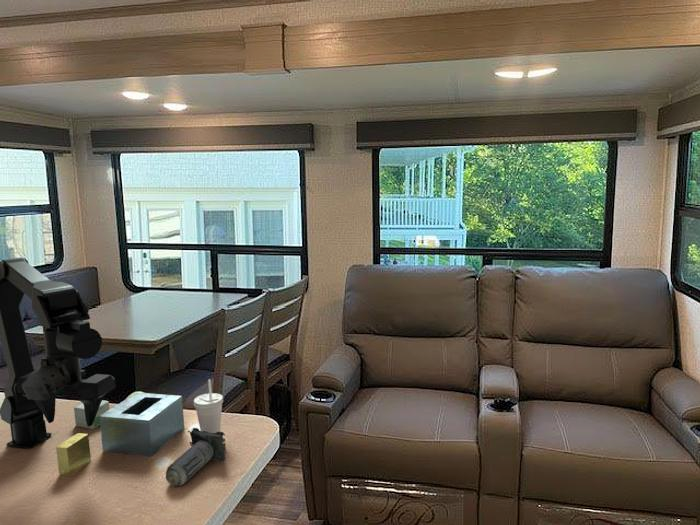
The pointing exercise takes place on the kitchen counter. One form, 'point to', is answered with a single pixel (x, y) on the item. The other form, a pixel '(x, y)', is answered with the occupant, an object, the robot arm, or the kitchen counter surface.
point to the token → (73, 454)
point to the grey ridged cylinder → (196, 456)
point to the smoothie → (209, 411)
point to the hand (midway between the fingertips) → (70, 424)
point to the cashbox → (142, 424)
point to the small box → (80, 415)
